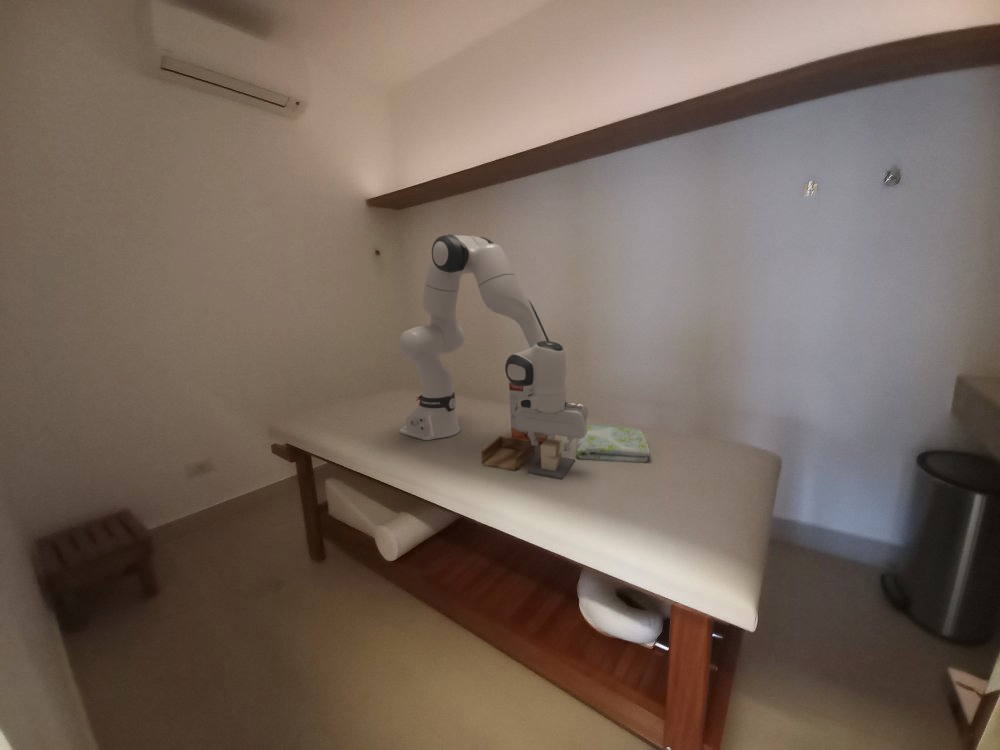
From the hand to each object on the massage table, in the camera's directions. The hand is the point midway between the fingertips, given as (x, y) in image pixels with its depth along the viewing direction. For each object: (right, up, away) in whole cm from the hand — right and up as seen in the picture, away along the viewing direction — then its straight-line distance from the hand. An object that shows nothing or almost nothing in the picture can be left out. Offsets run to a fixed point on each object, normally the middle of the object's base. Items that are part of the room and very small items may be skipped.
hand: (550, 447), depth 112 cm
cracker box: (-3, -1, +23) cm, 23 cm away
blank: (0, -5, +1) cm, 5 cm away
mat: (+1, -6, +1) cm, 6 cm away
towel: (+21, -3, +12) cm, 24 cm away
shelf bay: (-12, -5, +7) cm, 15 cm away
